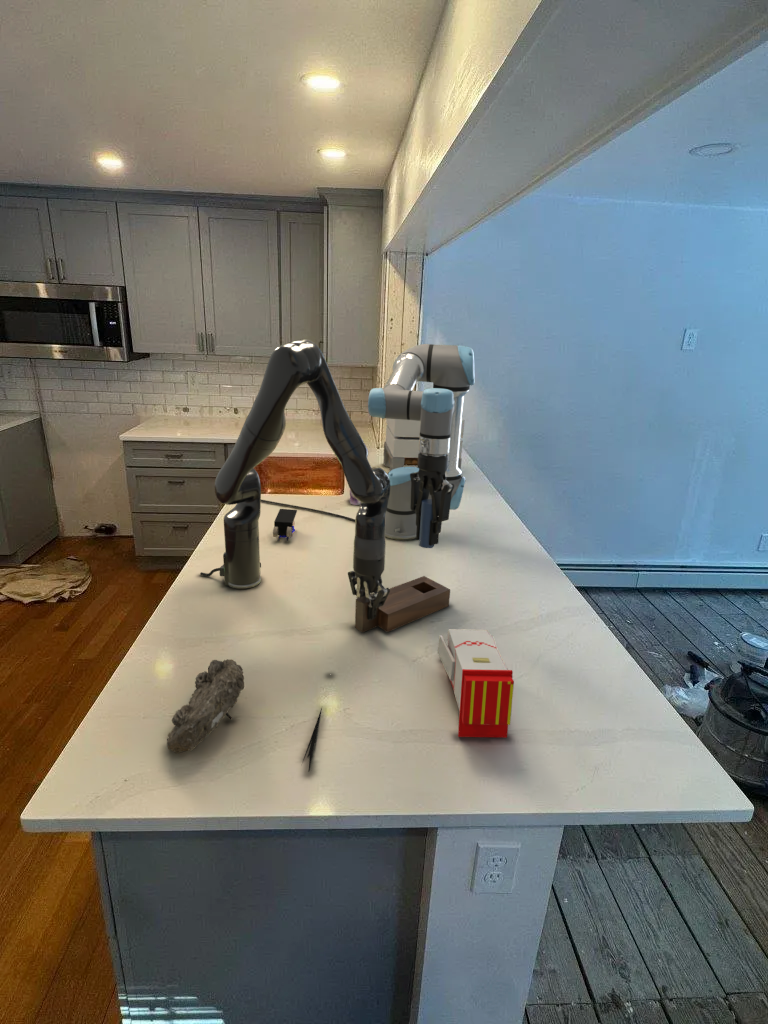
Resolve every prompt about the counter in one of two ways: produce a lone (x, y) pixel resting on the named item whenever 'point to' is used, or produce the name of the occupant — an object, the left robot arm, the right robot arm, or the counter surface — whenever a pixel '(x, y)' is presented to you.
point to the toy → (478, 682)
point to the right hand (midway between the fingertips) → (427, 541)
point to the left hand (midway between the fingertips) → (367, 615)
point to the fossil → (206, 705)
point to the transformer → (406, 443)
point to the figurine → (353, 499)
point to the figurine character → (284, 523)
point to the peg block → (403, 605)
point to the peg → (425, 523)
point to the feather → (313, 740)
